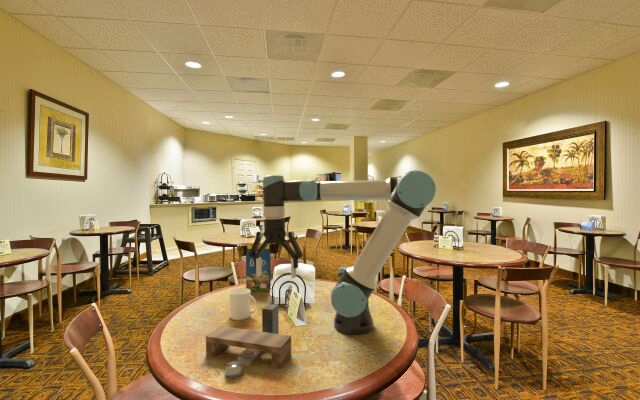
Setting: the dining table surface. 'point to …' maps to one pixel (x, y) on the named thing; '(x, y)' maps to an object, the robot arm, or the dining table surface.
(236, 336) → the riser
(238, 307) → the mug
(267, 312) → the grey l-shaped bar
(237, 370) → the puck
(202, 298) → the dining table surface
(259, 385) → the dining table surface
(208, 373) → the dining table surface
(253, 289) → the blue food package
